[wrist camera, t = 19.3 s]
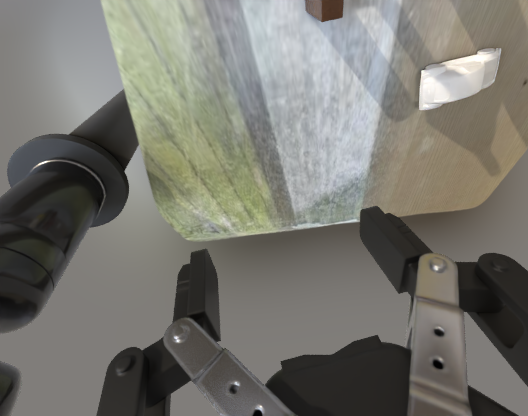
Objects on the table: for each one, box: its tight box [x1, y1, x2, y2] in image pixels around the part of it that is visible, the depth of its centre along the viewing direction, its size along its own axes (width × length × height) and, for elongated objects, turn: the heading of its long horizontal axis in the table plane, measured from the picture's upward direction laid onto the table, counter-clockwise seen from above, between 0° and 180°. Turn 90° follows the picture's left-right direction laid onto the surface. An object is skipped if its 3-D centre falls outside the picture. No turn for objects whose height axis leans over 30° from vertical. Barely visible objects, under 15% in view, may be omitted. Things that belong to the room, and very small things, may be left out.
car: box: [419, 48, 501, 110], centre depth 40 cm, size 12×6×5 cm, turn 106°
